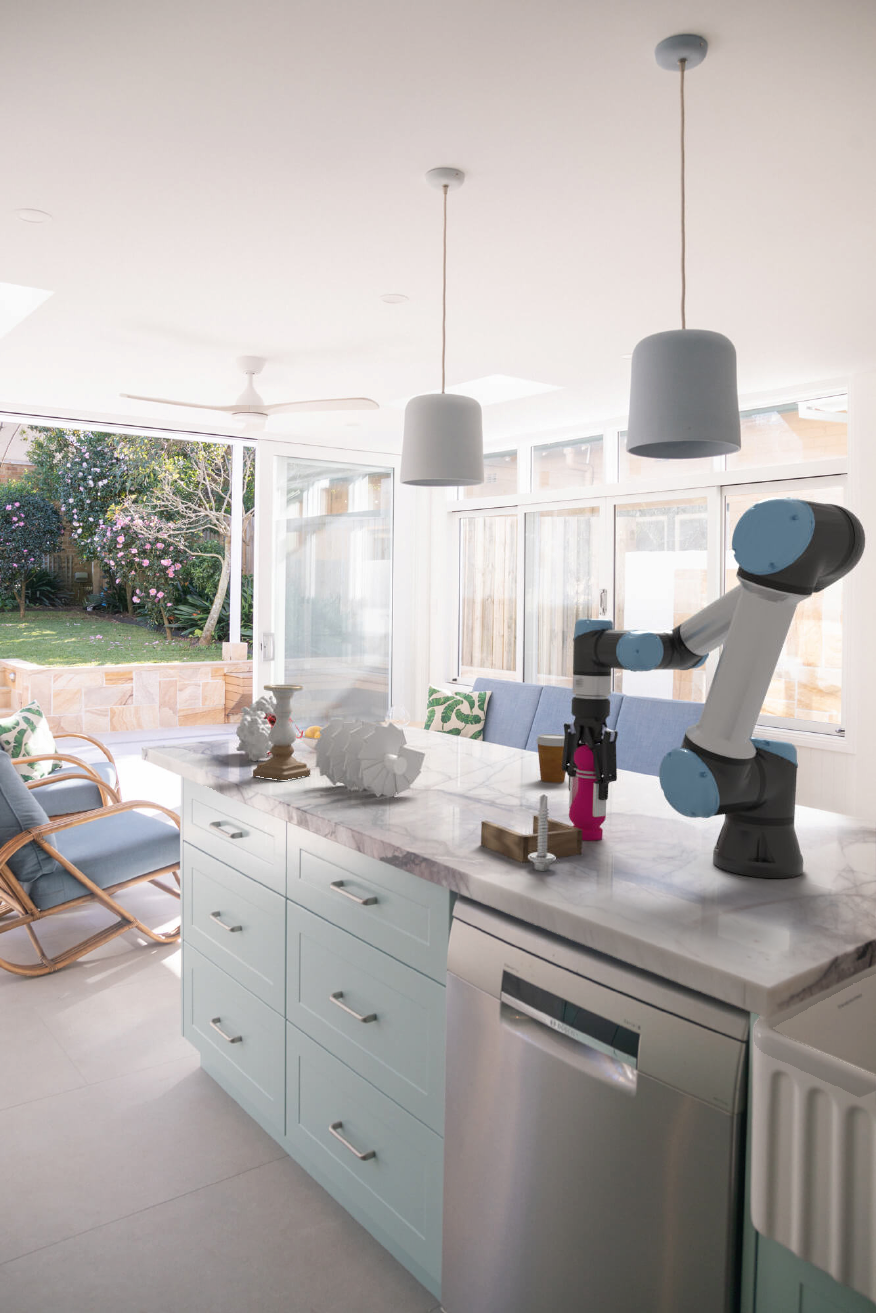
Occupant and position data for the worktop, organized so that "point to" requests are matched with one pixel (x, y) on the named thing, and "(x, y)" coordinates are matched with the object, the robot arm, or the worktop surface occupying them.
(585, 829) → the pepper mill
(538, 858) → the screw
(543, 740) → the disposable coffee cup
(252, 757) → the protein dna model
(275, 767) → the candle holder
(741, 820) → the robot arm
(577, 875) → the worktop surface
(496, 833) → the u rest
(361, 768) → the spiral staircase
